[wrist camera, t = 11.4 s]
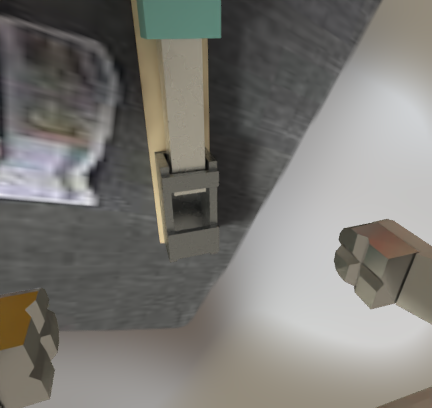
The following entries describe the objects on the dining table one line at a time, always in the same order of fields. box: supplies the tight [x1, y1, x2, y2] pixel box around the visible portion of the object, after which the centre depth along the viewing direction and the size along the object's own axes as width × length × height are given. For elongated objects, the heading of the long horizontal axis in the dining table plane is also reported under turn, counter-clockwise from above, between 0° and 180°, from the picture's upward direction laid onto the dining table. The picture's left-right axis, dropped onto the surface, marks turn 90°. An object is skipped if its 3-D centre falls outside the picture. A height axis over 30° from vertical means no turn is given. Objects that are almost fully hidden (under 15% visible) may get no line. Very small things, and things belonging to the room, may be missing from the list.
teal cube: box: [136, 0, 221, 39], centre depth 30 cm, size 7×6×7 cm
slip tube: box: [156, 38, 206, 196], centre depth 35 cm, size 4×20×4 cm, turn 1°
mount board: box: [131, 0, 210, 243], centre depth 40 cm, size 8×34×1 cm, turn 1°
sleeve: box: [154, 147, 219, 262], centre depth 41 cm, size 7×14×6 cm, turn 1°
